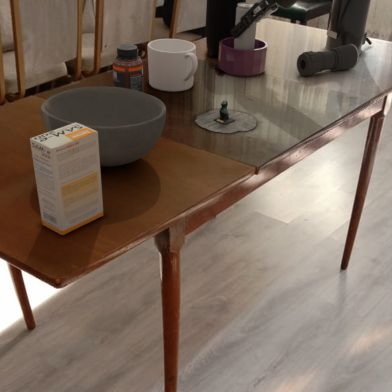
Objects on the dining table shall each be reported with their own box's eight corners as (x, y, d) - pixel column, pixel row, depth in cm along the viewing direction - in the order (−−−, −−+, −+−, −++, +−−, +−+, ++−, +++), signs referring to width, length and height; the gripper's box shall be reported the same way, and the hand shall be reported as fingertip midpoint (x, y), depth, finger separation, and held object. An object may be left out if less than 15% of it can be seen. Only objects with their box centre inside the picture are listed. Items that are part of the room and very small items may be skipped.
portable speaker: (199, 51, 160) (203, -38, 147) (232, 49, 163) (239, -39, 150) (211, 61, 154) (217, -31, 141) (246, 58, 157) (254, -32, 144)
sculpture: (190, 130, 121) (195, 90, 121) (198, 146, 130) (202, 108, 130) (252, 134, 119) (257, 92, 119) (255, 150, 128) (259, 111, 128)
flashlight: (307, 79, 146) (310, 55, 143) (293, 73, 150) (296, 48, 146) (356, 71, 153) (361, 47, 149) (341, 64, 156) (345, 41, 153)
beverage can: (255, 60, 150) (260, 3, 142) (249, 65, 146) (255, 8, 138) (235, 57, 151) (240, 1, 143) (230, 62, 147) (234, 5, 139)
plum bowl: (234, 60, 156) (236, 33, 152) (273, 69, 151) (276, 42, 147) (209, 70, 149) (210, 43, 145) (249, 81, 144) (252, 53, 140)
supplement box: (83, 205, 96) (75, 120, 87) (104, 216, 94) (99, 130, 85) (40, 224, 91) (28, 136, 82) (61, 237, 89) (51, 147, 80)
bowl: (178, 180, 104) (180, 120, 97) (54, 192, 99) (47, 129, 92) (150, 133, 118) (150, 78, 112) (40, 141, 113) (33, 84, 107)
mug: (138, 81, 140) (137, 43, 135) (174, 73, 146) (175, 36, 140) (176, 99, 133) (177, 59, 127) (213, 90, 138) (215, 51, 133)
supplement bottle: (148, 103, 130) (148, 45, 123) (134, 112, 126) (133, 52, 119) (123, 98, 132) (121, 40, 124) (109, 107, 128) (106, 47, 120)
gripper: (294, -42, 138) (239, 12, 149) (272, -32, 128) (215, 24, 139) (313, -11, 140) (257, 39, 151) (293, 1, 130) (235, 54, 141)
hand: (237, 32), depth 145 cm, fingers closed on beverage can, 4 cm apart
